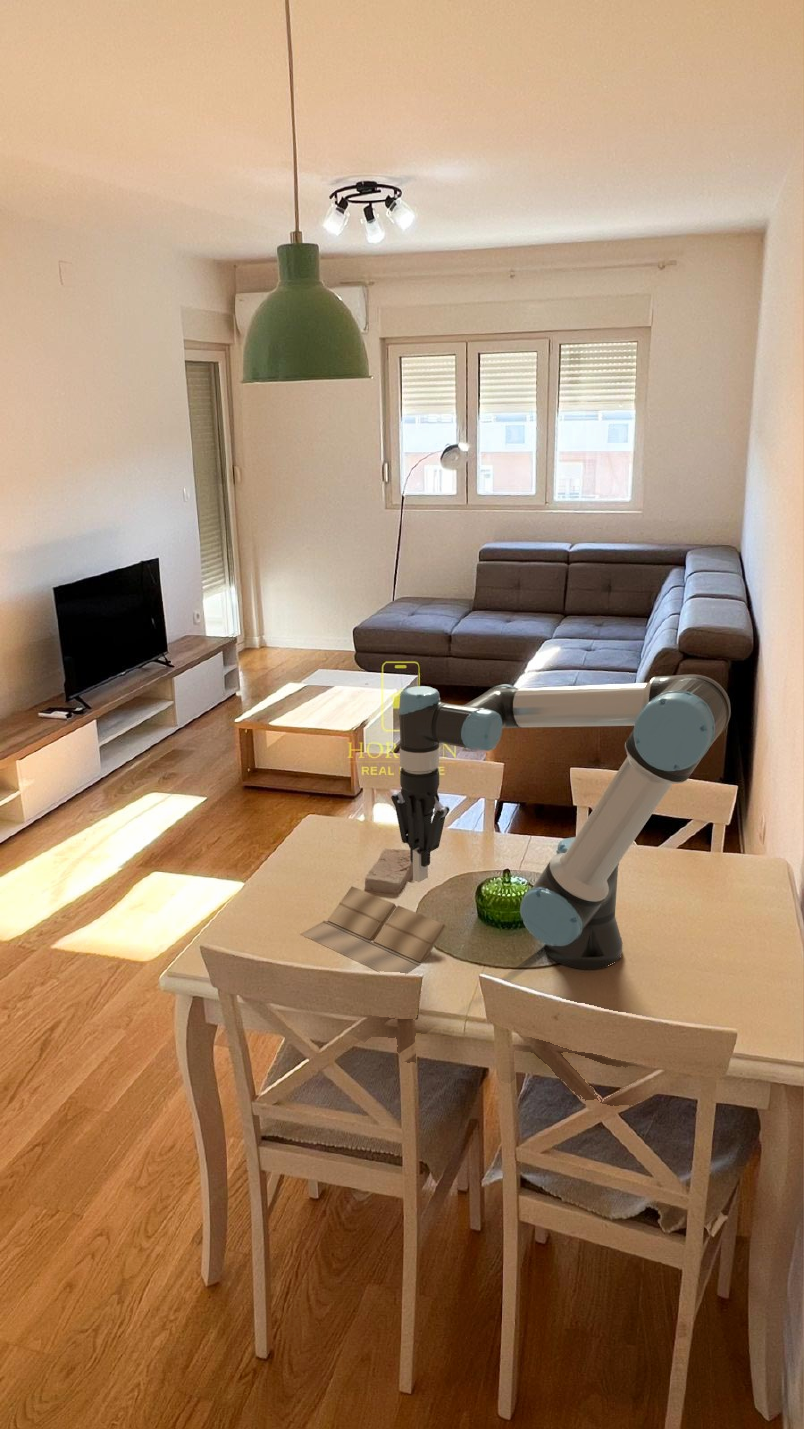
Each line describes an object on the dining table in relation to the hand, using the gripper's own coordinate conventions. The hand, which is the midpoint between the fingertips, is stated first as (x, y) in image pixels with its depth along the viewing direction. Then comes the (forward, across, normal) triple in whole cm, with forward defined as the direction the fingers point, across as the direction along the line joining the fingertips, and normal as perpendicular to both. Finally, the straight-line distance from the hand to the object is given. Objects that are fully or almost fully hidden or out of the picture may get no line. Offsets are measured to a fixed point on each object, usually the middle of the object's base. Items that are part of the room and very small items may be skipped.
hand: (420, 878), depth 196 cm
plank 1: (+11, +13, +3) cm, 17 cm away
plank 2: (+11, 0, +3) cm, 12 cm away
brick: (+15, +22, -16) cm, 31 cm away
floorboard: (+14, +6, +12) cm, 19 cm away
